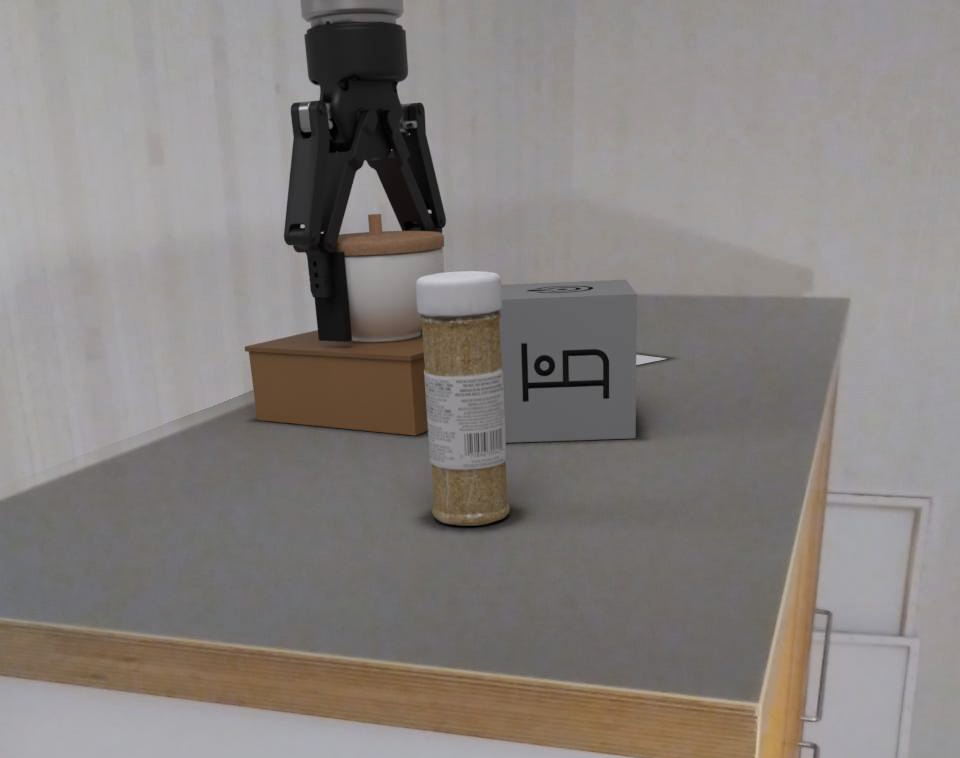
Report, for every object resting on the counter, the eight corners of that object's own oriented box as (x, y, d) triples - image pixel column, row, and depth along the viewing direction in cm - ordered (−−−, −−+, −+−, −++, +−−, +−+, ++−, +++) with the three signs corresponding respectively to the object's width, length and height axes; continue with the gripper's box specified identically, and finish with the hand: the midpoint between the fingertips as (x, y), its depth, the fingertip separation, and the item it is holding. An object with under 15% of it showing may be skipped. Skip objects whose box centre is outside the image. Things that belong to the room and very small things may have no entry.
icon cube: (497, 443, 81) (491, 300, 77) (500, 414, 90) (495, 285, 86) (635, 438, 81) (636, 294, 77) (625, 409, 90) (625, 279, 86)
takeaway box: (253, 420, 93) (244, 346, 90) (359, 388, 104) (353, 321, 101) (416, 436, 84) (410, 355, 82) (512, 400, 96) (509, 327, 93)
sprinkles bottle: (499, 502, 67) (490, 267, 62) (518, 523, 63) (510, 274, 58) (425, 510, 66) (408, 273, 61) (439, 532, 62) (423, 280, 57)
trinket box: (467, 327, 94) (461, 208, 91) (420, 348, 85) (412, 216, 81) (351, 326, 98) (341, 212, 94) (294, 346, 89) (281, 220, 85)
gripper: (290, 6, 72) (325, 354, 81) (479, 28, 90) (491, 312, 99) (205, 18, 76) (247, 350, 84) (403, 38, 94) (421, 310, 102)
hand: (379, 330), depth 91 cm, fingers closed on trinket box, 11 cm apart
